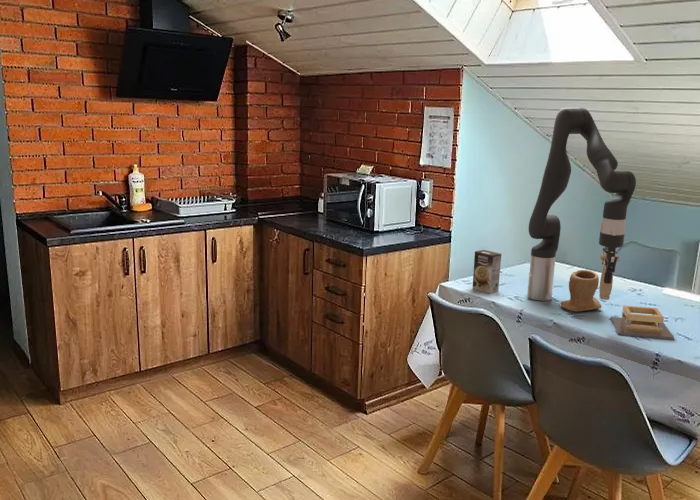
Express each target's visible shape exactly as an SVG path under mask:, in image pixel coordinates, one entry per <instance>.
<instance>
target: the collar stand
mask: <svg viewBox="0 0 700 500" xmlns="http://www.w3.org/2000/svg"><path fill="white" fill-rule="evenodd" d="M664 319H665V317H664V316H663V314H662V313H661V311H660V309H658V308H656V307H647V306H633V305H622V311H621V317H619V316H617V317H616V316H610V322H611V324H612V325H613V328H614V329H615V332H616V334H617V335H618V336H626V337H637V338H648V339H660V340H668V341H669V340H670V341H674V340H675V336H674V335H673V333H672V332H671V331H670V330H669V328H668V327H667V326H666V323H665V322H664Z"/></svg>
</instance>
